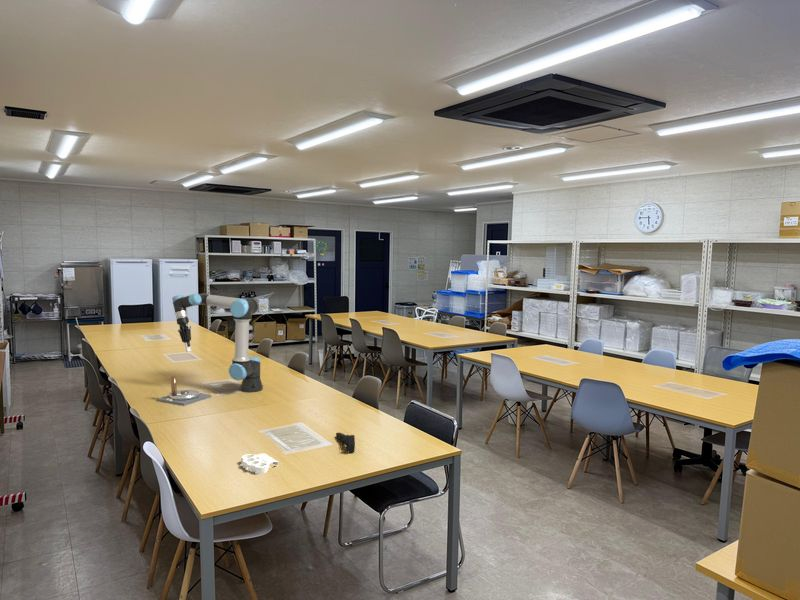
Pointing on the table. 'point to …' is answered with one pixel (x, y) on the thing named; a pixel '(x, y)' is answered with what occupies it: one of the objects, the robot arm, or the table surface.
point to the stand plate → (184, 402)
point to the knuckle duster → (257, 463)
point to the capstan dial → (181, 392)
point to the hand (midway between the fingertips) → (189, 351)
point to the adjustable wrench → (347, 441)
